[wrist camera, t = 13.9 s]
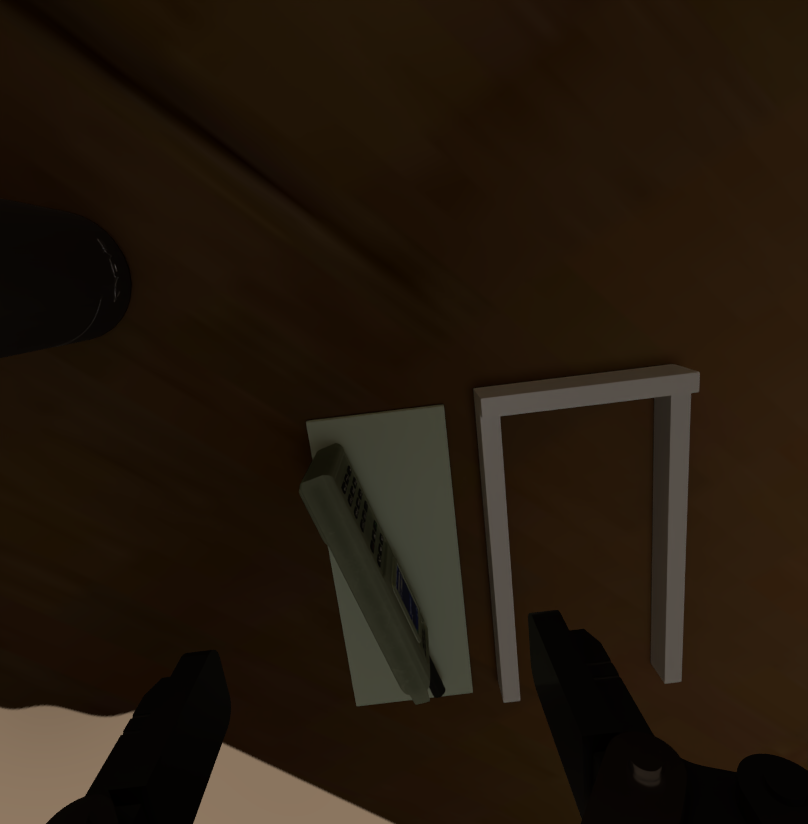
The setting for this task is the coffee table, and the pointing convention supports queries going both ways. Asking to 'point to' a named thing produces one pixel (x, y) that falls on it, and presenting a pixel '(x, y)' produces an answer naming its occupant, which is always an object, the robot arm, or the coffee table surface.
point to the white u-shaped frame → (668, 496)
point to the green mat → (404, 539)
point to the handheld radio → (370, 570)
